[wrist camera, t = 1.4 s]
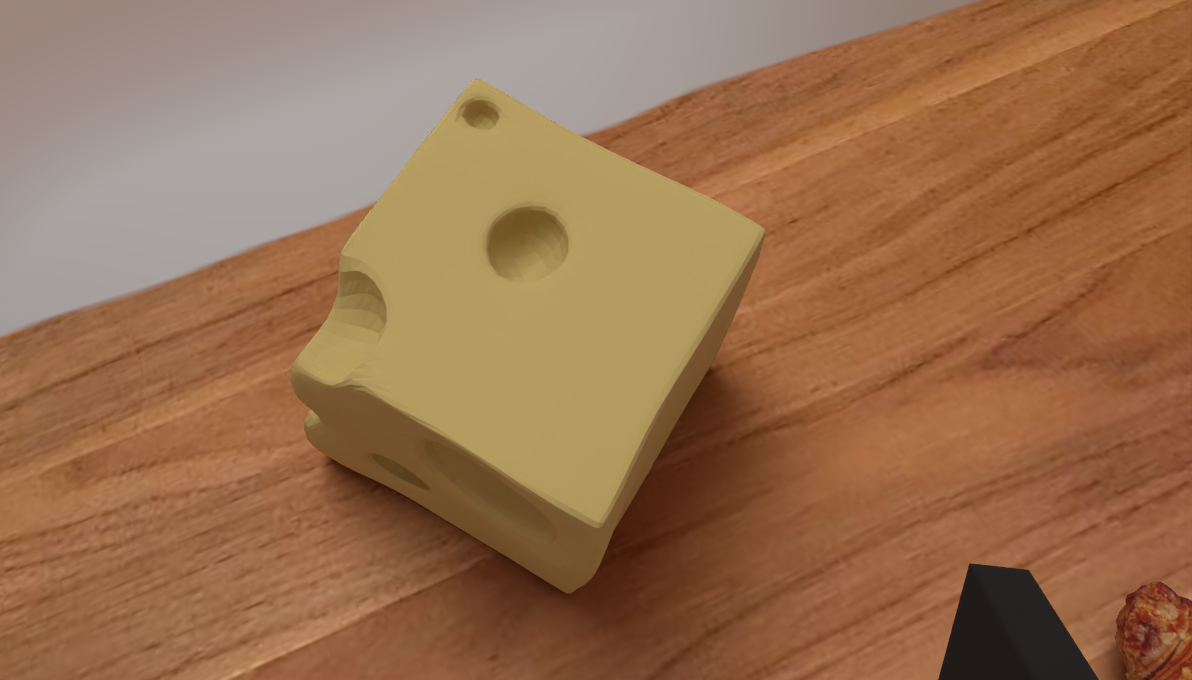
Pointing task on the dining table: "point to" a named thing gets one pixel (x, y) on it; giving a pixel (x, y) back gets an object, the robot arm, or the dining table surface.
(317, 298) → the dining table surface
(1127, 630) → the croissant
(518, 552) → the cheese
